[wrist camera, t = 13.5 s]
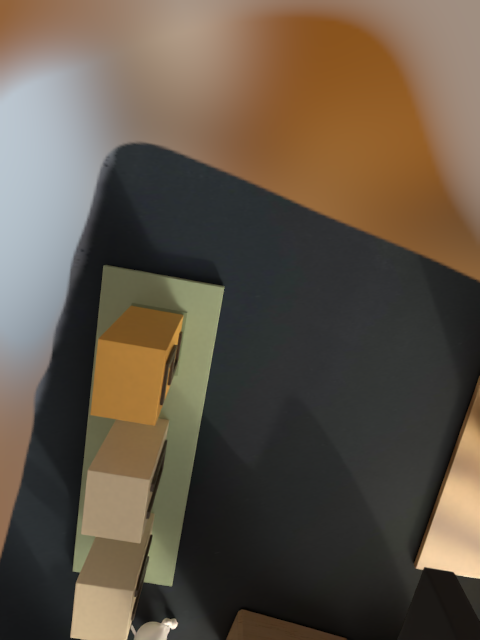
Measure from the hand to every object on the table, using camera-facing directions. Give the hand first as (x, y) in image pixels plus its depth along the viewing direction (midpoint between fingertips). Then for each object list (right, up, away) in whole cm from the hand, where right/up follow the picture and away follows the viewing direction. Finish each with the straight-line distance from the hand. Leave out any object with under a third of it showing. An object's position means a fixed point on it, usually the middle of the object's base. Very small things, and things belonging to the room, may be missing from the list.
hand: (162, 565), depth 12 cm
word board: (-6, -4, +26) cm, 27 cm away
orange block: (-5, +5, +23) cm, 24 cm away
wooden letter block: (-8, -12, +28) cm, 32 cm away
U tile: (-6, -4, +26) cm, 27 cm away
